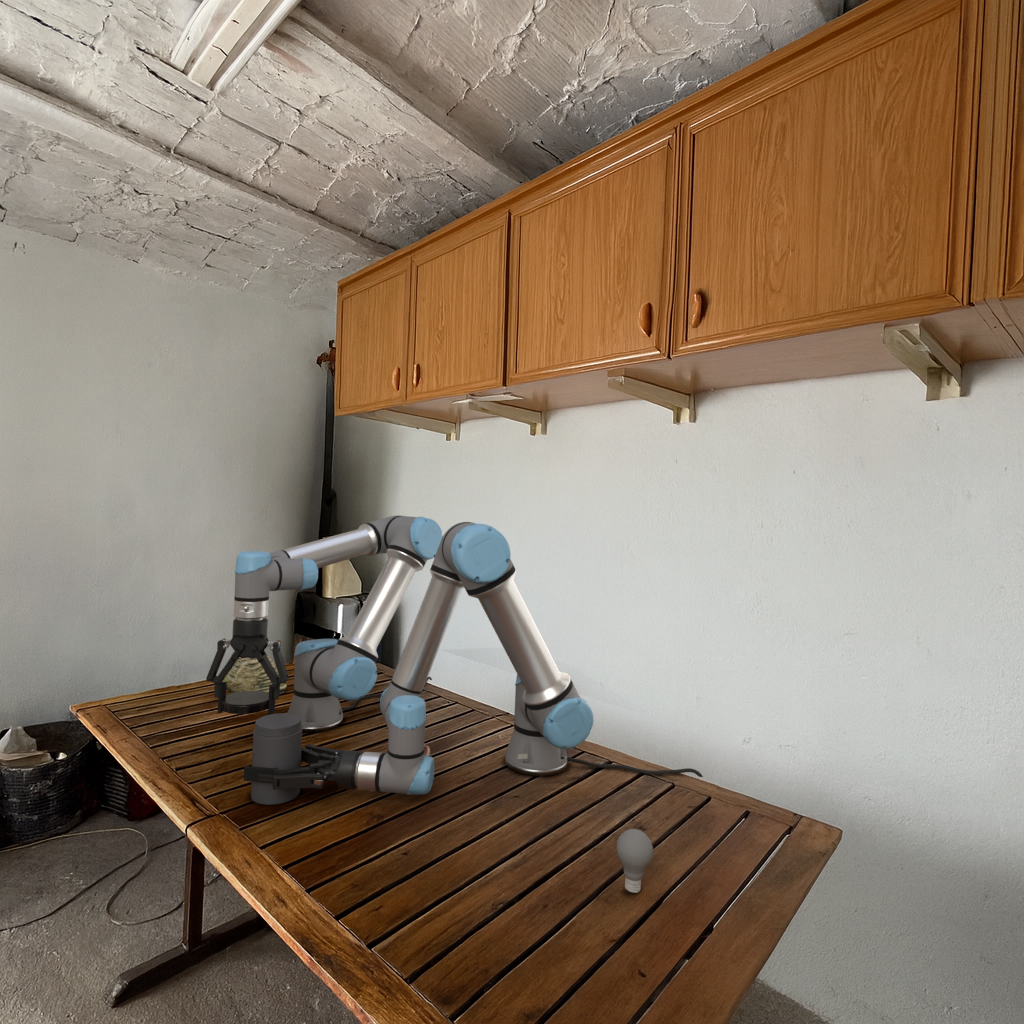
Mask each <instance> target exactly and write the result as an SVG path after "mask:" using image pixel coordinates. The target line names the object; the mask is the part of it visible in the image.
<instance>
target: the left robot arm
mask: <svg viewBox="0 0 1024 1024" xmlns="http://www.w3.org/2000/svg"><path fill="white" fill-rule="evenodd" d="M442 537H443V530H442V529H441V526H440V525H439V523H438V522H436V521H435V520H434V519H432V518H428V517H424V516H407V515H391V516H387V517H386V516H385V517H383V518H379V519H376V520H373V521H369V522H366V523H363V524H360V525H359V526H358V528H357V529H354V530H350V531H347V532H343V533H339V534H335V535H332V536H327V537H325V538H321V539H317V540H313V541H309V542H306V543H303V544H299V545H296V546H295V545H294V546H291V547H288V548H284V549H281V550H277V551H273V552H268V551H260V550H259V551H258V550H255V551H254V550H248V551H247V550H245V551H240V552H239V553H238V554H237V556H236V560H235V569H234V596H233V597H234V599H233V617H234V619H233V620H232V637H231V639H226V638H225V637H224V638H222V639H219V640H218V641H217V644H216V645H217V646H216V647H217V648H216V649H217V650H216V652H215V655H214V657H213V660H212V663H211V665H210V668H209V670H208V673H207V675H206V678H205V681H206V682H208V683H209V682H211V683H213V684H214V691H213V692H214V693H213V696H214V698H215V699H217V714H222V713H223V712H224V711H223V710H222V709H221V702H222V698H223V697H224V696H226V695H227V689H226V684H227V682H223V680H224V678H225V677H226V675H227V674H228V673H229V671H230V670H231V668H232V667H233V666H234V664H235V663H236V661H237V660H238V659H239V658H240V657H241V658H250V659H255V658H256V659H257V661H258V662H260V664H261V666H262V667H263V669H264V671H265V672H266V674H267V676H268V677H269V679H270V681H271V682H272V684H271V685H270V686H269V702H268V709H267V715H271V714H274V712H275V711H276V700H278V699H279V698H280V696H281V693H280V684H284V683H286V684H287V682H288V681H289V674H288V670H287V667H286V662H285V661H284V660H285V659H284V656H283V653H282V650H281V649H282V640H280V639H277V640H269V638H268V627H269V626H268V625H269V620H268V618H267V617H268V616H269V606H270V605H269V604H270V602H269V601H270V592H278V591H279V592H280V591H295V590H300V591H302V590H306V589H311V588H313V587H315V586H316V584H317V582H318V579H319V569H321V568H324V567H327V566H330V565H331V566H332V565H334V564H337V563H341V562H343V561H347V560H350V559H353V558H358V557H361V556H364V555H366V556H369V557H372V556H375V555H380V554H386V557H387V560H386V562H385V563H384V565H383V568H382V569H381V571H380V573H379V575H378V577H377V579H376V581H375V582H374V583H373V586H372V588H371V590H370V592H369V594H368V596H367V597H366V600H364V602H363V605H362V607H361V609H360V611H359V613H358V614H357V616H356V618H355V620H354V622H353V624H352V625H351V628H350V629H349V631H348V633H347V634H346V635H345V636H342V637H340V638H338V639H337V638H318V639H308V640H304V641H300V642H299V643H297V644H296V646H295V650H294V655H293V657H294V672H293V673H294V674H293V695H292V696H293V697H292V699H291V702H290V704H289V708H288V709H287V712H286V713H288V714H294V715H297V716H299V717H300V718H301V726H302V733H316V732H325V731H329V730H332V729H335V728H337V727H339V726H340V725H342V723H343V722H344V714H343V711H345V710H346V711H347V710H351V709H353V708H355V706H356V704H357V702H359V701H362V700H364V699H368V698H369V699H370V698H376V697H381V695H382V693H376V694H375V693H374V694H369V693H370V692H371V691H372V690H373V688H374V686H375V684H376V682H377V679H378V673H377V671H378V669H377V664H376V663H377V661H378V659H379V655H378V652H377V649H378V646H379V645H380V643H381V640H382V638H383V637H384V635H385V633H386V631H387V629H388V627H389V625H390V623H391V621H392V619H393V617H394V615H395V614H396V611H397V609H398V607H399V605H400V603H401V602H402V599H403V597H404V595H405V593H406V591H407V590H408V588H409V585H410V584H411V581H412V580H413V578H414V575H415V574H416V572H419V571H423V569H424V568H425V566H426V565H427V562H428V561H429V560H434V558H435V555H436V552H437V549H438V547H439V544H440V542H441V539H442ZM229 647H231V648H232V649H233V652H234V651H235V652H234V653H233V652H232V653H233V655H232V654H231V655H232V656H230V657H231V658H230V657H229V659H230V660H229V659H228V660H229V661H228V660H227V662H226V663H225V665H224V666H223V667H222V669H221V671H220V672H219V670H220V667H221V664H222V662H223V659H224V657H225V654H226V652H227V649H228V648H229ZM268 647H269V650H270V651H272V657H273V661H274V663H275V665H276V668H277V671H278V674H279V676H278V674H277V673H276V671H275V669H274V667H273V666H272V664H271V662H270V661H269V659H268V657H267V655H268V654H267V652H266V651H265V650H266V649H267V648H268ZM218 672H219V674H218ZM217 674H218V675H217ZM279 677H280V678H279ZM432 680H433V679H432V677H431V676H428V678H427V680H426V683H425V685H426V684H427V683H428V681H432ZM368 694H369V695H368ZM340 700H344V701H349V702H353V703H352V705H350V706H344V707H343V706H341V702H340Z"/></svg>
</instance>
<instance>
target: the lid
mask: <svg viewBox="0 0 1024 1024" xmlns="http://www.w3.org/2000/svg"><path fill="white" fill-rule="evenodd" d="M268 702H269V693H267V692H263V691H241V692H235V693H231V694H230V693H229V694H226V696H224V697H223V698H222V702H221V709H222V710H223V712H224V713H227V714H230V715H231V714H232V715H251V714H256V713H261V712H263V711H266V710H268Z"/></svg>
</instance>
